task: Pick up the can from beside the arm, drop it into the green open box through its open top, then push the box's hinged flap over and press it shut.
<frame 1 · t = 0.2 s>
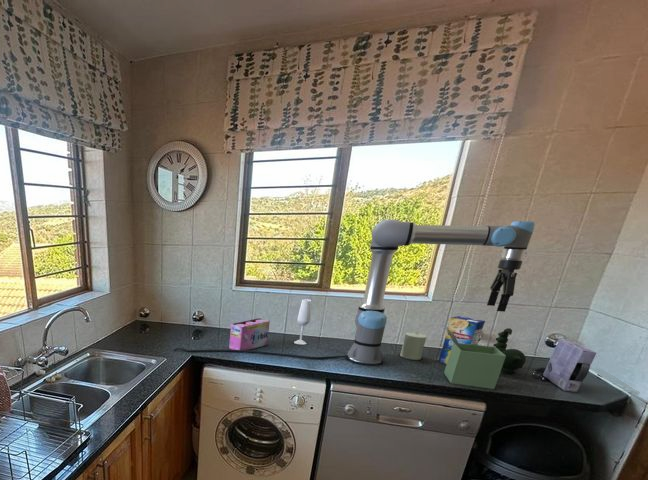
hand: (495, 308, 181), 28 cm above the worktop, tool pointing down, fingers open, 13 cm apart
can: (410, 357, 203), on the worktop
flap: (453, 337, 170), point 18 cm above the worktop, hinge at 125.0°
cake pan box: (559, 384, 171), on the worktop
gum box: (248, 347, 217), on the worktop
champagne flute: (300, 343, 225), on the worktop
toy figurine: (502, 369, 188), on the worktop
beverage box: (454, 364, 194), on the worktop
green open box: (467, 380, 173), on the worktop
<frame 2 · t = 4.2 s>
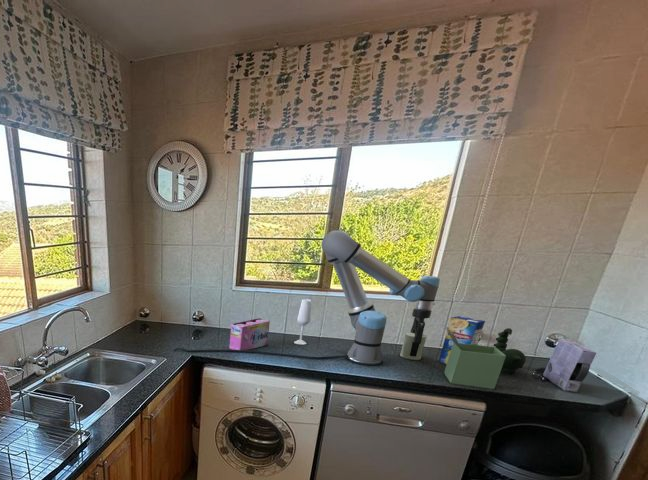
hand: (411, 353, 202), 2 cm above the worktop, tool pointing down, fingers closed on can, 9 cm apart
can: (410, 357, 203), on the worktop, touching gripper
everything else where it was.
when the fingers open (14 cm above the worktop, at t = 13.3 s): can stays where it is, resting on green open box.
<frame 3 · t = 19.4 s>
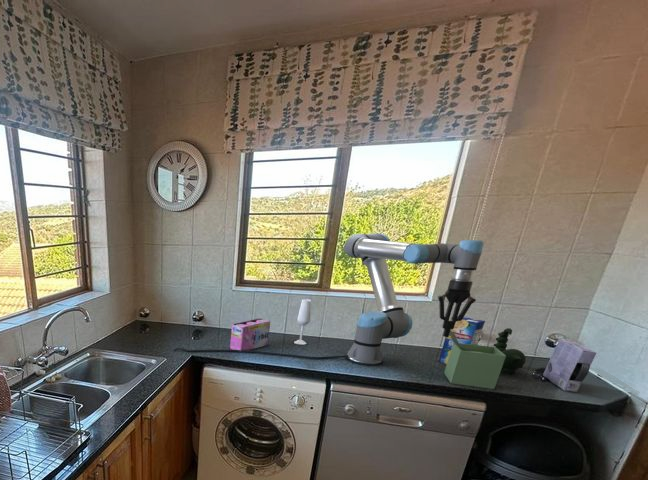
hand: (445, 336, 171), 19 cm above the worktop, tool pointing down, fingers closed
can: (471, 380, 173), resting on green open box
flap: (453, 337, 170), point 18 cm above the worktop, hinge at 123.3°, touching gripper
everything else where it was.
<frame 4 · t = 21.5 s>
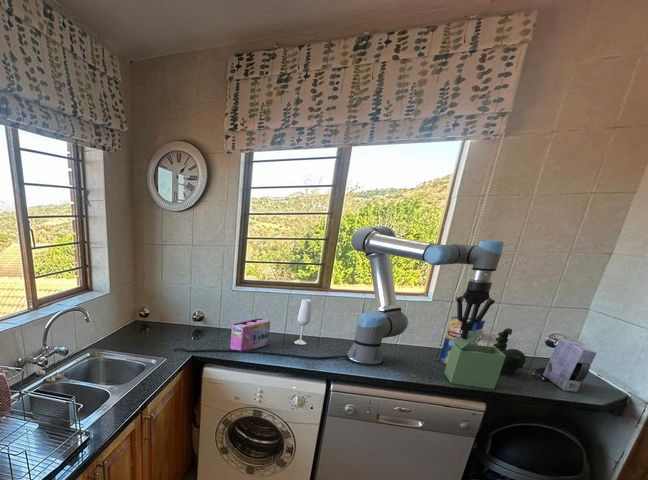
hand: (463, 337, 169), 19 cm above the worktop, tool pointing down, fingers closed
flap: (465, 339, 169), point 18 cm above the worktop, hinge at 53.7°
everything else where it was.
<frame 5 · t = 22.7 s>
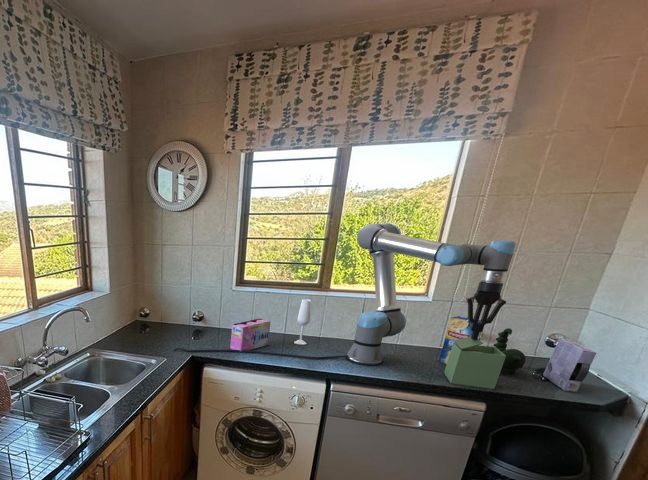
hand: (473, 338, 168), 19 cm above the worktop, tool pointing down, fingers closed
flap: (467, 342, 169), point 17 cm above the worktop, hinge at 27.2°
everything else where it was.
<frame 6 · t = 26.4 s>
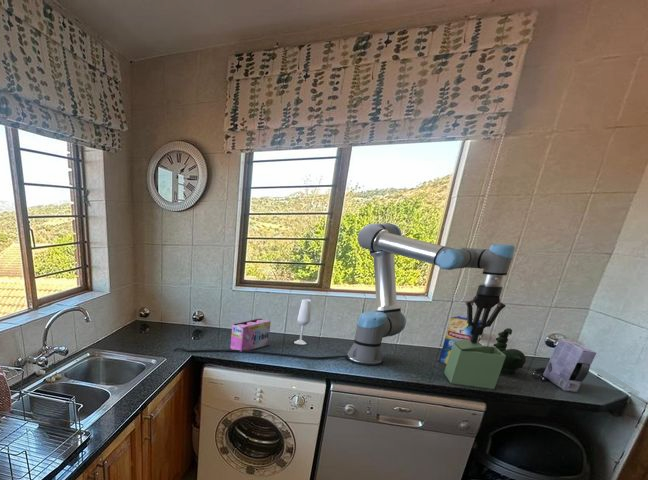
hand: (473, 342, 168), 17 cm above the worktop, tool pointing down, fingers closed
flap: (468, 344, 169), point 16 cm above the worktop, hinge at 15.0°, touching gripper
everything else where it was.
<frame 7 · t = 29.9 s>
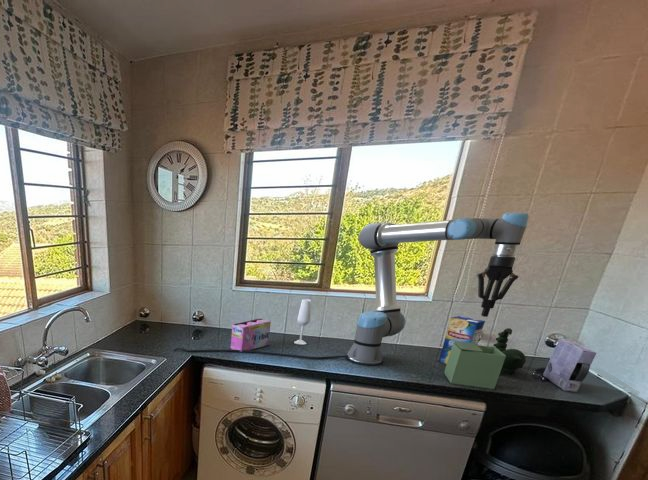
hand: (484, 315, 164), 28 cm above the worktop, tool pointing down, fingers closed
flap: (467, 346, 169), point 15 cm above the worktop, hinge at 0.6°
everything else where it was.
at the end: can inside the target area in the green open box (1.0 cm from its centre), point 0.3 cm above the green open box's base; flap at +1° (first picture: +125°); the gripper is holding nothing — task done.
